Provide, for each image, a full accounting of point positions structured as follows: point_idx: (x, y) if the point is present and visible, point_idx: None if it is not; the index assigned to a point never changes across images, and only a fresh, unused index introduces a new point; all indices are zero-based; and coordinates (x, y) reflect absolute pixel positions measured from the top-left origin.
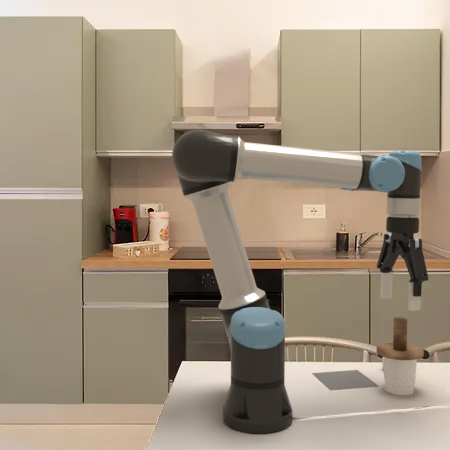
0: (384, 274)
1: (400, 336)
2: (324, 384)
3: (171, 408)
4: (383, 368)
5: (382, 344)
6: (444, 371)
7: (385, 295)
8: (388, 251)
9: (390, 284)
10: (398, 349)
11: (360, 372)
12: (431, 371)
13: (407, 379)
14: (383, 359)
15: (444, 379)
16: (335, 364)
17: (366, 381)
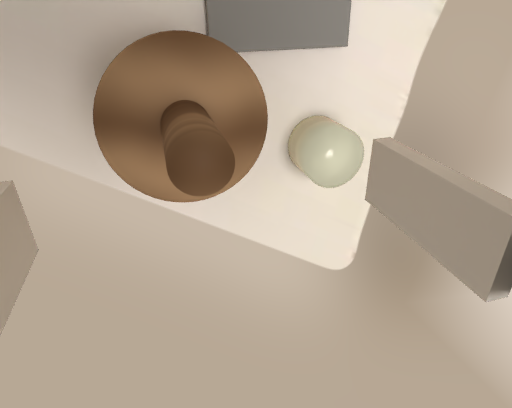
0: (500, 227)
1: (163, 131)
2: None
3: None
4: (323, 118)
5: (256, 85)
6: (298, 255)
7: (382, 168)
8: None
9: (421, 232)
10: (164, 111)
11: (325, 46)
12: (305, 231)
13: None
14: (336, 125)
15: (252, 238)
16: (421, 10)
17: (254, 30)
